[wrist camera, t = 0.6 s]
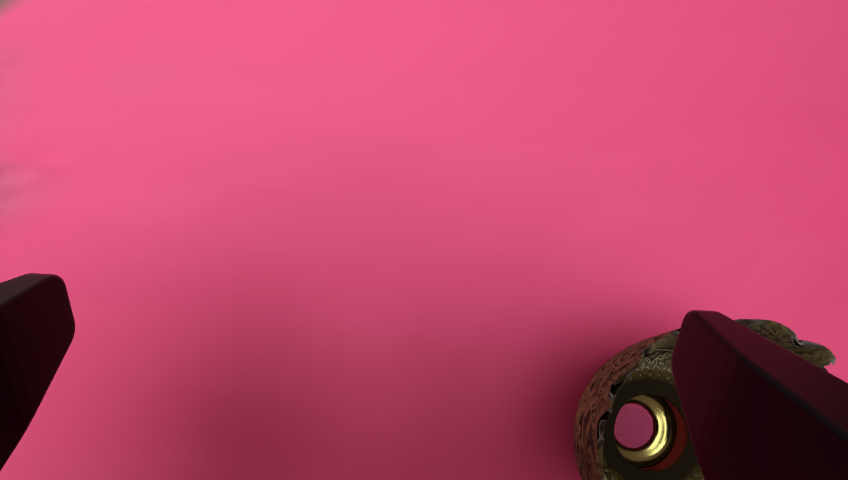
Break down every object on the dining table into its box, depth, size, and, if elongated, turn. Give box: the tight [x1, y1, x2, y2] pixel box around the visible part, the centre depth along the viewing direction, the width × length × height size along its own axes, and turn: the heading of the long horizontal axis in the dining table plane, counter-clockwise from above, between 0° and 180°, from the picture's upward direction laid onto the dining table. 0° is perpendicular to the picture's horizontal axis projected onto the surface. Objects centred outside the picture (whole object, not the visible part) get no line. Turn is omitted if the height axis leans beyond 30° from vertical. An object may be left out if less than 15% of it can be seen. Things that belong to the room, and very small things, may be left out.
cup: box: [574, 319, 836, 480], centre depth 19 cm, size 8×7×8 cm
